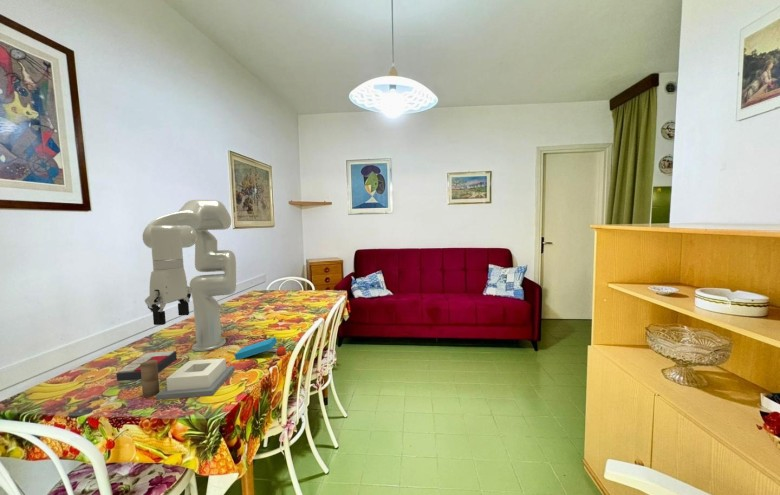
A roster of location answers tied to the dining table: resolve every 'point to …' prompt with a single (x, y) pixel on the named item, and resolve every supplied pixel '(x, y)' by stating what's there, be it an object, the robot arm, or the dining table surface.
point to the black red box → (134, 368)
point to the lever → (259, 349)
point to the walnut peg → (149, 378)
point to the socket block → (196, 379)
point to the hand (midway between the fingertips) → (172, 319)
